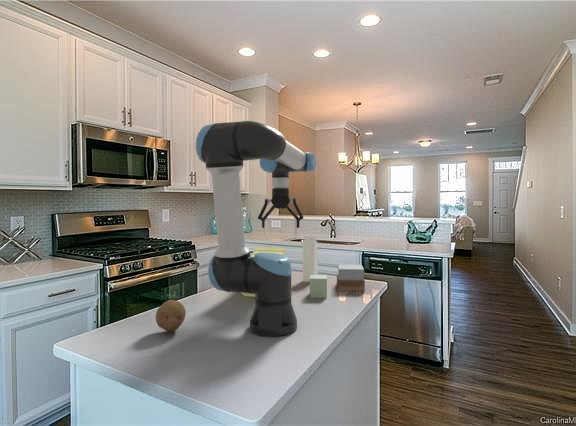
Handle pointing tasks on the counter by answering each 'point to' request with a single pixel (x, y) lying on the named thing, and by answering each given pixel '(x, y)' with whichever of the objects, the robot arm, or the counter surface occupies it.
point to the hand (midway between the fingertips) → (280, 235)
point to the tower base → (350, 285)
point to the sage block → (318, 286)
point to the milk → (309, 258)
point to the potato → (170, 315)
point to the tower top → (350, 272)
